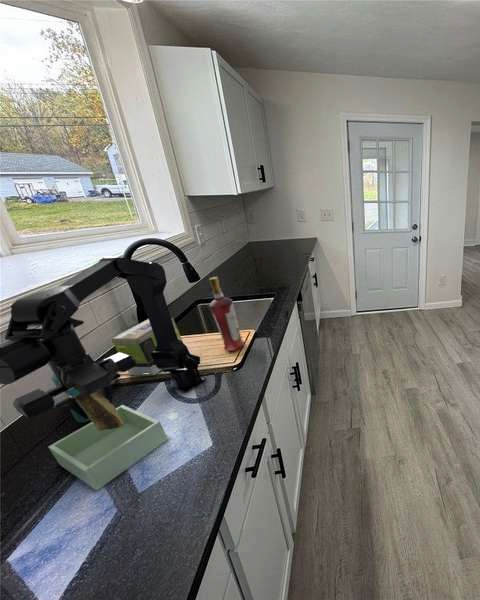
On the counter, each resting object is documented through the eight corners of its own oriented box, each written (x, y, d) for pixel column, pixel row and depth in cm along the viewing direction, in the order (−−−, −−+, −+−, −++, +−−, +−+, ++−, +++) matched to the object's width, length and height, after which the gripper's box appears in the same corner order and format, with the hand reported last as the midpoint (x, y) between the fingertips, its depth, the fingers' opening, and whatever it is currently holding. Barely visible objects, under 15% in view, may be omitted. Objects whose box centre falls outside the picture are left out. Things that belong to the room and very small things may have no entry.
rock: (73, 407, 73) (51, 427, 64) (96, 374, 75) (78, 389, 66) (125, 422, 78) (112, 442, 69) (146, 391, 80) (136, 407, 71)
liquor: (228, 344, 121) (207, 275, 111) (248, 342, 122) (228, 273, 111) (221, 354, 115) (197, 282, 104) (241, 352, 115) (219, 280, 104)
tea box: (164, 351, 119) (150, 316, 113) (187, 352, 118) (174, 317, 112) (127, 375, 105) (109, 337, 100) (153, 376, 104) (136, 338, 98)
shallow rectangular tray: (131, 421, 85) (122, 404, 83) (168, 439, 78) (159, 421, 76) (60, 465, 73) (47, 446, 70) (96, 490, 66) (84, 471, 64)
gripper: (17, 389, 54) (61, 455, 60) (137, 338, 69) (162, 394, 75) (-8, 376, 58) (35, 438, 64) (110, 330, 74) (136, 384, 80)
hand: (98, 411), depth 71 cm, fingers closed on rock, 4 cm apart
